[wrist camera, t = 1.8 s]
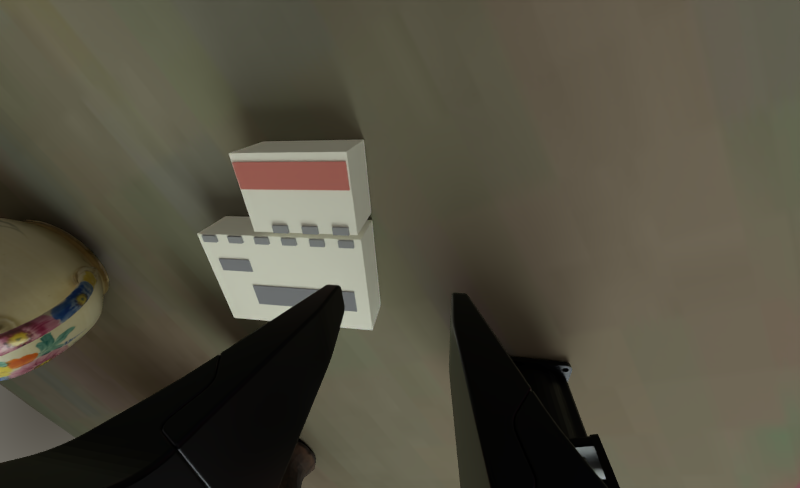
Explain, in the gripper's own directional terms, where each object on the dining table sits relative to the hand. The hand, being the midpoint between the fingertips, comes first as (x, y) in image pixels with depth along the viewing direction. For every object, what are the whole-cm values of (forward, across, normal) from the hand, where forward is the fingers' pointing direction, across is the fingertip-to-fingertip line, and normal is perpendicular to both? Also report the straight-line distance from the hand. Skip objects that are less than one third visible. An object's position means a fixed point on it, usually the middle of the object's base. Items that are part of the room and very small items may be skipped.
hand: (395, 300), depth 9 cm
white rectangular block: (+12, +8, 0) cm, 14 cm away
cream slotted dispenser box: (+12, +10, +7) cm, 17 cm away
